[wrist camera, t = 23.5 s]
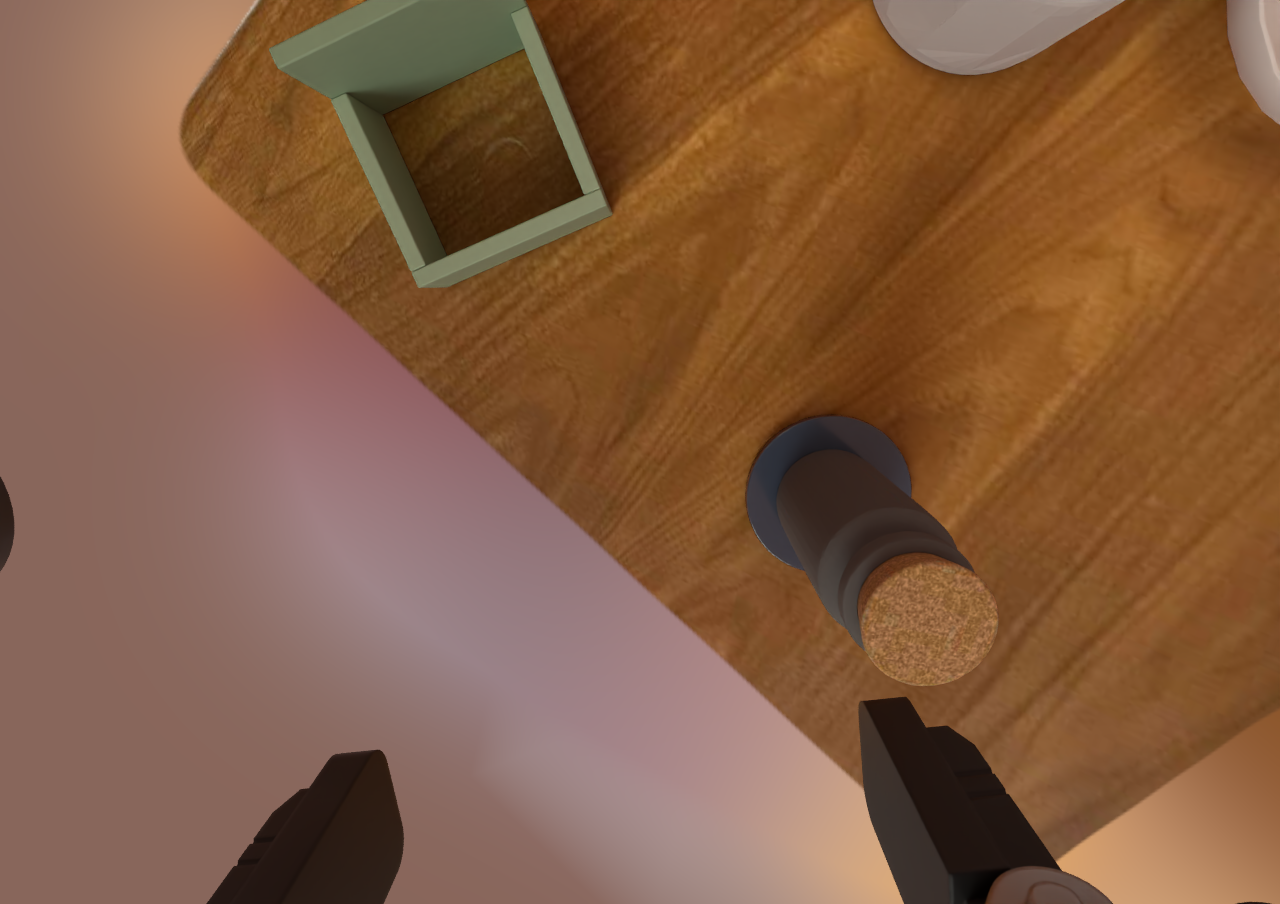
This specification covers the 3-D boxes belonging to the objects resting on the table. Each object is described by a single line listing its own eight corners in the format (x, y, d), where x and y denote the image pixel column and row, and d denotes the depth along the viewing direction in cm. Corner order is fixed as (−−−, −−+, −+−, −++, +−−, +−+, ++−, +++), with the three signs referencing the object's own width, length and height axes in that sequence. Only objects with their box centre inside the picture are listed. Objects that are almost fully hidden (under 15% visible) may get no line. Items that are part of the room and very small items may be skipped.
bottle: (813, 428, 38) (909, 516, 24) (903, 481, 39) (1051, 599, 24) (754, 517, 40) (812, 652, 25) (843, 568, 40) (949, 729, 26)
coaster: (777, 591, 41) (779, 596, 41) (721, 450, 39) (722, 452, 39) (928, 536, 40) (932, 539, 40) (878, 389, 38) (882, 390, 38)
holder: (445, 287, 38) (382, 288, 29) (362, 106, 36) (267, 48, 27) (613, 214, 37) (599, 192, 28) (536, 23, 35) (496, -65, 26)
